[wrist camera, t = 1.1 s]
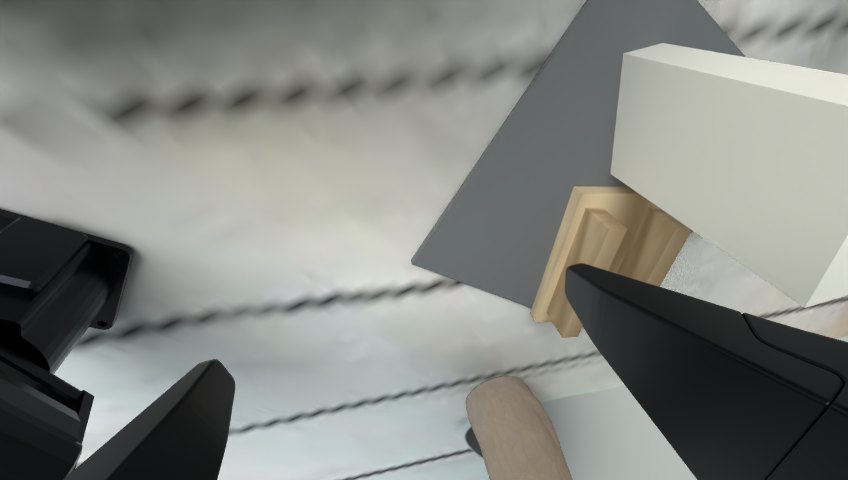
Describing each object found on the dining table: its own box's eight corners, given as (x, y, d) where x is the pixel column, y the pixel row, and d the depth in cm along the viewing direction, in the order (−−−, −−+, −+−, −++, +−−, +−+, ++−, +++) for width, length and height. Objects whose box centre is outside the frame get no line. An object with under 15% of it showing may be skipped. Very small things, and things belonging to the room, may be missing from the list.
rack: (530, 313, 29) (550, 347, 27) (573, 186, 23) (606, 214, 20) (607, 307, 31) (635, 340, 28) (667, 186, 25) (710, 212, 22)
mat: (587, 325, 32) (589, 329, 32) (411, 260, 25) (411, 264, 24) (797, 122, 24) (803, 124, 24) (632, -68, 17) (638, -69, 16)
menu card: (610, 173, 23) (804, 307, 14) (623, 53, 19) (914, 121, 10) (643, 164, 23) (859, 291, 14) (663, 42, 19) (992, 99, 10)
